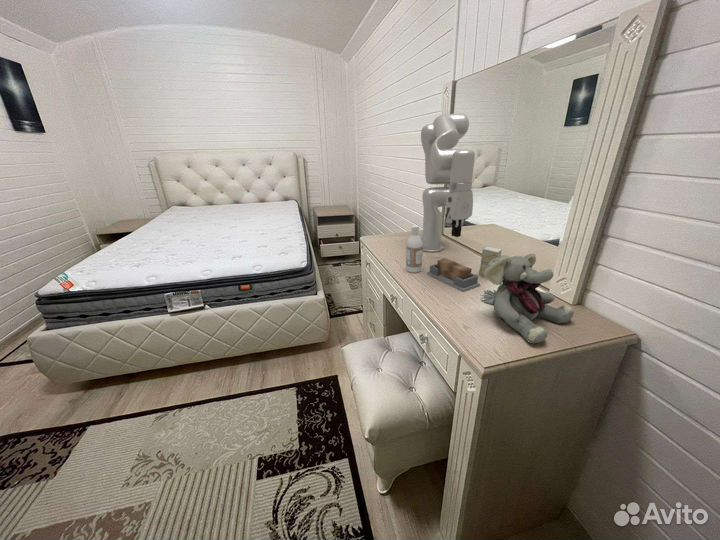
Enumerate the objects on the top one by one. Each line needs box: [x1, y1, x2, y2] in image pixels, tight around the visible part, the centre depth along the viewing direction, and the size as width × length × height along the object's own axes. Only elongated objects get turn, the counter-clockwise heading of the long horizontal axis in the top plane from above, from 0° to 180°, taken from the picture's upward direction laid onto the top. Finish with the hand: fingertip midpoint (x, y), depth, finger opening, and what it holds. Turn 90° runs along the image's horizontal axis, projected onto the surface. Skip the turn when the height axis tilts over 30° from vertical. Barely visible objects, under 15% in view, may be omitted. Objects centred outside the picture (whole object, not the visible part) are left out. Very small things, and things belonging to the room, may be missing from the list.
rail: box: [426, 263, 481, 293], centre depth 119 cm, size 20×9×4 cm, turn 30°
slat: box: [436, 257, 472, 281], centre depth 118 cm, size 14×4×6 cm, turn 30°
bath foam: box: [405, 225, 424, 273], centre depth 127 cm, size 7×7×20 cm
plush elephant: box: [480, 253, 574, 344], centre depth 90 cm, size 27×22×21 cm
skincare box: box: [478, 246, 503, 279], centre depth 119 cm, size 6×4×12 cm
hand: (455, 235), depth 113 cm, fingers closed
